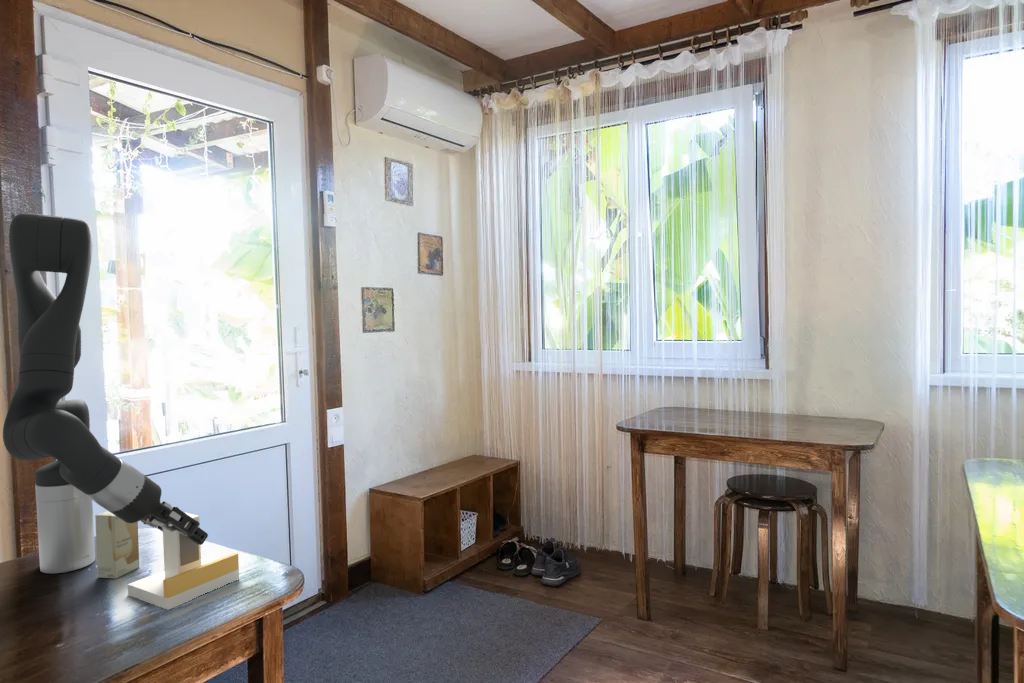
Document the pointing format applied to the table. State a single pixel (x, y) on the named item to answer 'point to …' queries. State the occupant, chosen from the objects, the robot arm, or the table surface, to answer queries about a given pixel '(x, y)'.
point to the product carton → (180, 552)
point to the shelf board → (186, 582)
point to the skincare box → (115, 546)
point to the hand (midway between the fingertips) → (189, 536)
